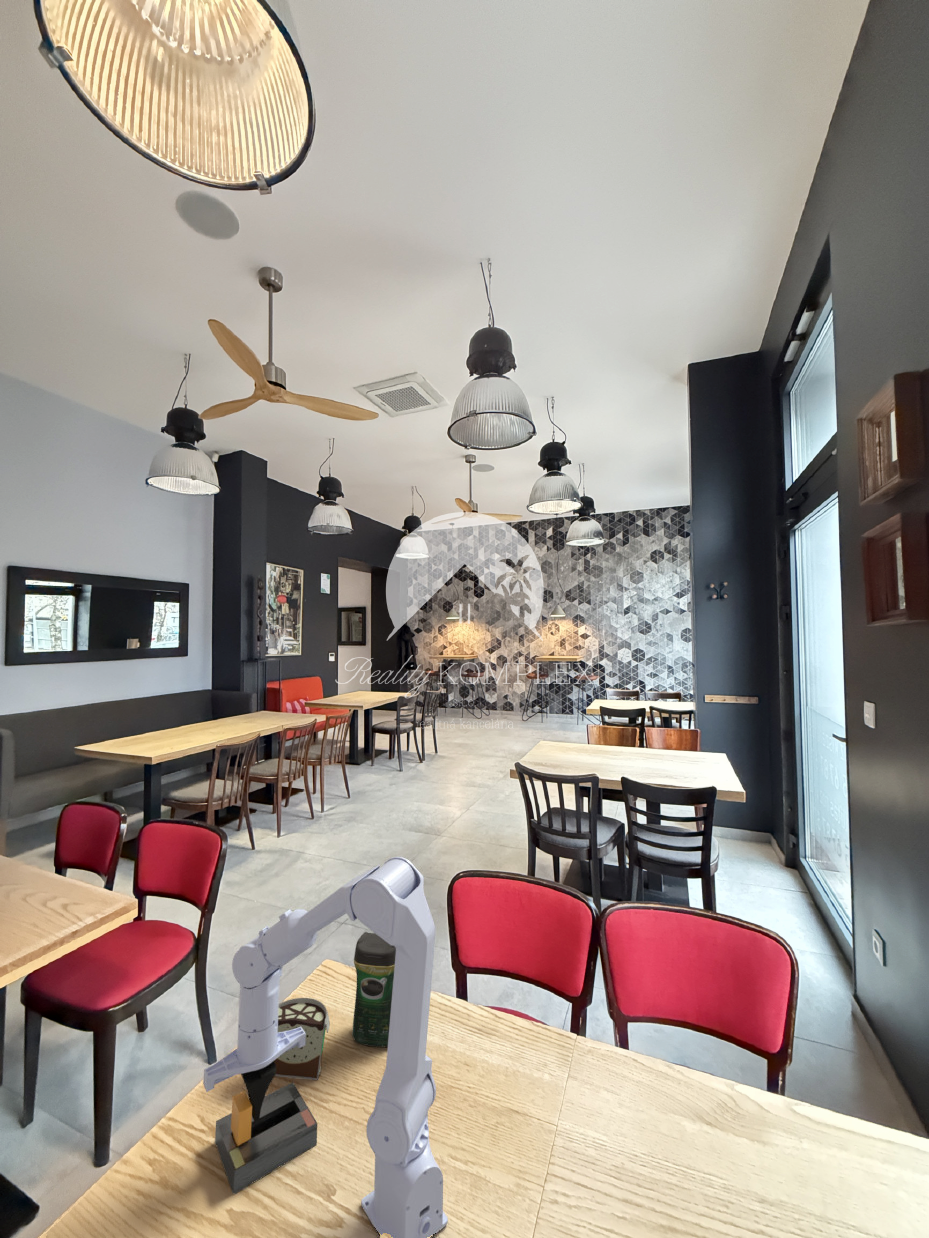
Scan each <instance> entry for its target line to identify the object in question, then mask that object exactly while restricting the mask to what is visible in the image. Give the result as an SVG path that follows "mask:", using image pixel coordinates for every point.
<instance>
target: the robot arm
mask: <svg viewBox="0 0 929 1238" xmlns="http://www.w3.org/2000/svg"><path fill="white" fill-rule="evenodd" d="M424 877H425V876H424V875H423V873H421V872H420V871H419V870H418V869H417V867H416V866H415V865H414V863H412V862H411V860H409V859H407V858H405V857H403V856H393V857H390V858H389V859H387V860H386V861H385V862H384V864H383V865H381V864H378V865H376V866H374V867H372V868H370V869H368V870H365V871H364V872H363V873H360V874H359V875H357V876H355V877H353V878H352V879H351V880H349V881H348V882H346V883H345V884H343V885H342V886H340V887H339V888H338V889H337V890H336V891H334V892H333V893H331V894H330V895H329V896H327V897H326V898H324V899H323V900H322V901H321V902H319V903H318V904H317V905H316V906H314V907H313V908H311V909H310V910H306V909H302V908H298V909H295V910H293V911H292V909H288V910H286V911H285V912H283V913H282V914H281V915H279V917H278V918H279V921H277V922H276V923H275V924H273V925H271V926H270V927H269V926H265V927H264V928H262V929H261V930H259V932H258V935H257V936H256V937H255V938H253V939H252V940H251V941H248V942H247V943H246V944H244V945H241V947H240V948H239V949H238V950H237V951H236V953H235V954H234V956H233V958H232V964H231V969H232V974H233V977H234V979H235V980H236V982H237V983H238V984H239V995H238V996H239V1002H238V1019H237V1021H238V1023H237V1026H238V1027H237V1043H236V1044H237V1045H236V1046H237V1047H236V1048H235V1049H233V1050H232V1051H230V1053H228V1054H226V1055H225V1056H224V1057H222V1058H221V1059H220V1060H219V1061H217V1062H215V1063H213V1064H212V1065H211V1066H208V1067H206V1068H204V1069H203V1083H202V1084H203V1087H204V1089H205V1091H206V1092H209V1091H212V1090H214V1089H215V1085H217V1084H219V1083H221V1082H223V1081H226V1080H228V1079H230V1078H232V1077H235V1076H237V1075H241V1077H242V1080H243V1082H244V1083H243V1084H244V1086H245V1088H246V1091H247V1092H246V1093H247V1096H248V1098H249V1101H250V1103H251V1105H252V1117H253V1119H254V1121H255V1120H257V1119H259V1118H260V1111H261V1107H262V1103H263V1100H264V1097H265V1096H266V1095H267V1091H268V1089H269V1087H270V1086H271V1085H270V1084H271V1083H272V1081H273V1080H274V1077H276V1076H275V1074H276V1064H275V1063H274V1060H275V1059H277V1058H278V1057H279V1056H280V1055H282V1054H283V1053H284V1052H286V1051H288V1050H290V1049H292V1048H294V1047H298V1048H301V1047H303V1046H305V1036H306V1033H305V1031H304V1030H303V1029H302V1027H298V1028H296V1029H293V1030H289V1031H284V1032H279V1033H278V1006H279V1004H280V1001H279V1000H280V999H279V998H280V978H281V977H282V976H283V967H284V966H285V965H287V964H288V963H289V962H291V961H292V960H294V959H295V958H297V957H299V956H300V955H301V954H303V953H304V952H306V951H307V950H309V949H311V948H312V947H313V946H314V944H315V942H316V941H317V937H318V932H319V931H320V930H322V929H324V928H326V927H327V926H329V925H330V924H332V923H333V922H336V920H338V919H340V918H342V917H343V916H345V915H347V917H348V918H349V919H350V921H351V922H355V921H356V920H358V921H359V922H360V923H361V924H363V926H365V927H366V928H368V929H369V930H370V931H371V932H372V933H375V934H377V935H378V936H379V937H381V938H382V939H383V940H385V941H386V942H387V943H389V944H390V945H392V946H395V948H396V956H395V968H394V979H393V991H392V1003H391V1014H390V1026H389V1038H388V1046H387V1051H386V1062H385V1069H384V1071H383V1075H382V1078H381V1080H380V1084H379V1087H378V1090H377V1092H376V1094H375V1102H374V1103H375V1104H374V1109H373V1111H372V1112H371V1114H370V1115H369V1117H368V1120H367V1123H366V1128H365V1130H366V1131H365V1132H366V1138H367V1142H368V1144H369V1147H370V1149H371V1150H372V1152H373V1153H374V1190H372V1191H371V1192H369V1193H368V1194H367V1195H365V1196H364V1197H363V1198H362V1199H361V1207H362V1209H363V1210H364V1213H365V1214H366V1216H367V1217H368V1219H369V1221H370V1223H371V1225H372V1226H373V1228H374V1227H375V1228H376V1229H375V1228H374V1229H375V1231H376V1230H377V1231H378V1232H379V1233H380V1234H381V1235H382V1234H383V1233H387V1234H390V1235H391V1237H393V1238H427V1237H430V1236H431V1235H433V1234H435V1233H436V1234H437V1233H438V1232H440V1231H441V1230H442V1229H443V1228H444V1227H446V1226H447V1225H448V1223H449V1222H448V1221H449V1218H448V1216H447V1214H446V1213H445V1212H444V1177H443V1172H442V1170H441V1167H439V1164H438V1163H437V1161H436V1160H435V1157H434V1154H433V1153H432V1148H431V1143H430V1138H429V1137H430V1132H429V1130H430V1129H429V1122H428V1120H429V1119H428V1118H429V1117H428V1116H429V1114H428V1113H429V1109H430V1108H431V1106H433V1104H434V1102H435V1100H436V1094H437V1085H436V1083H435V1078H434V1076H433V1075H434V1074H433V1070H432V1068H433V1065H432V1064H433V1060H432V1058H431V1057H429V1056H428V1055H427V1041H428V1029H429V1018H430V1017H429V1016H430V1008H431V1007H430V1004H431V993H432V979H433V967H434V956H435V942H436V941H435V940H436V926H435V922H434V919H433V916H432V912H431V910H430V907H429V904H428V901H427V898H426V894H425V891H424V890H425V889H424V885H425V884H424V883H425V881H424V879H425V878H424ZM439 1230H440V1231H439ZM377 1231H376V1232H377ZM436 1234H435V1235H436Z"/></svg>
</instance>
